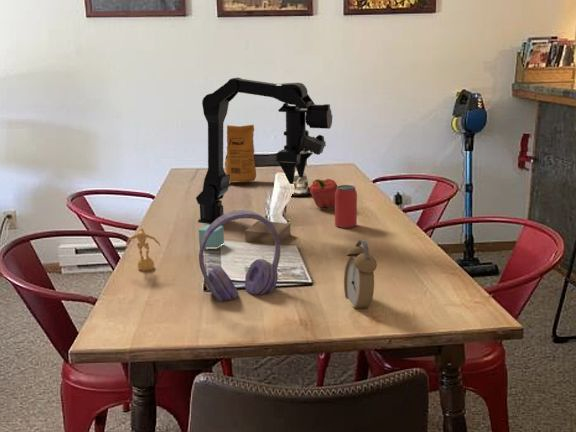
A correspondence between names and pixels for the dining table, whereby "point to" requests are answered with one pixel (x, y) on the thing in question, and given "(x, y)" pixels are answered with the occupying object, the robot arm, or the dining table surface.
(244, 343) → the dining table surface
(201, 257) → the headphones
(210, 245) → the teal block
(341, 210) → the beer can
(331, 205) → the vegetable
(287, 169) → the robot arm
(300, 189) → the skull
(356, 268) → the alarm clock
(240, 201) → the dining table surface
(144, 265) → the figurine
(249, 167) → the coffee package
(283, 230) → the walnut block
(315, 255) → the dining table surface
